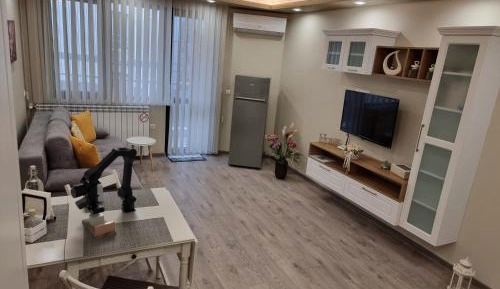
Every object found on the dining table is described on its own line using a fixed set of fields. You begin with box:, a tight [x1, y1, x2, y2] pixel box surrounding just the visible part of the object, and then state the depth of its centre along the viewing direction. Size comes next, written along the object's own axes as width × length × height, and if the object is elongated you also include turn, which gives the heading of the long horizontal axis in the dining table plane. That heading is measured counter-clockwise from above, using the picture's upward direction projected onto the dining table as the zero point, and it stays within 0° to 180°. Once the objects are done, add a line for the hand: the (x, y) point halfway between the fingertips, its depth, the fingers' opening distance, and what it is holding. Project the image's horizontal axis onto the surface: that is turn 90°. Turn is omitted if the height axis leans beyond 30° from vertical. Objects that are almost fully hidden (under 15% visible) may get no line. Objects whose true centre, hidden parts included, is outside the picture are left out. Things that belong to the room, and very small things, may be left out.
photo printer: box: [98, 182, 104, 203], centre depth 216 cm, size 10×4×12 cm, turn 123°
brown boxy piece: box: [81, 217, 117, 240], centre depth 187 cm, size 10×22×6 cm, turn 44°
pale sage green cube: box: [88, 212, 105, 227], centre depth 189 cm, size 6×5×5 cm
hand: (93, 218), depth 193 cm, fingers closed
